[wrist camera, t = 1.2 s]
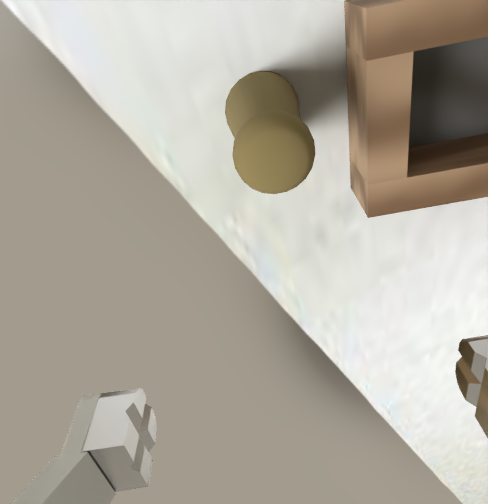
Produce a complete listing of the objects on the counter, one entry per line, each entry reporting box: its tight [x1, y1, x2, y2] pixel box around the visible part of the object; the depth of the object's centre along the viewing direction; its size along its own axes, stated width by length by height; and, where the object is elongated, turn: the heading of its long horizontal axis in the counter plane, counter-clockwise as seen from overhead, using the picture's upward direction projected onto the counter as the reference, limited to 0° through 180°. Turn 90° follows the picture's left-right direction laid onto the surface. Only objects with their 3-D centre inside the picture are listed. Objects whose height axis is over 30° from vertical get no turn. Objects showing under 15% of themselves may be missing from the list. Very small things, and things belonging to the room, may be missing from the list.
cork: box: [225, 71, 315, 194], centre depth 29 cm, size 6×6×11 cm
